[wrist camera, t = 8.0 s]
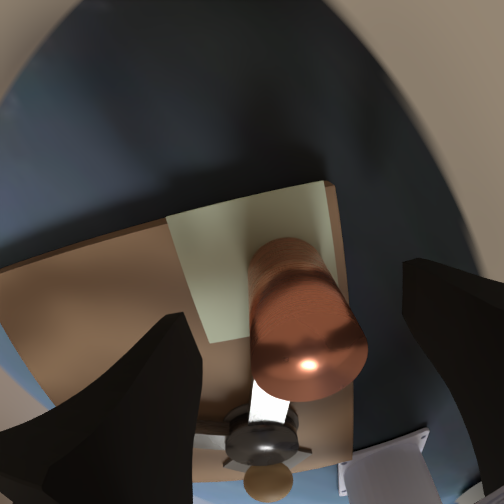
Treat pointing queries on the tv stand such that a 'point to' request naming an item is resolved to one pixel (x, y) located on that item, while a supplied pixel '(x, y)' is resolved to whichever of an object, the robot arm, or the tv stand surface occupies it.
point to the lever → (288, 352)
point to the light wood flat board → (195, 310)
